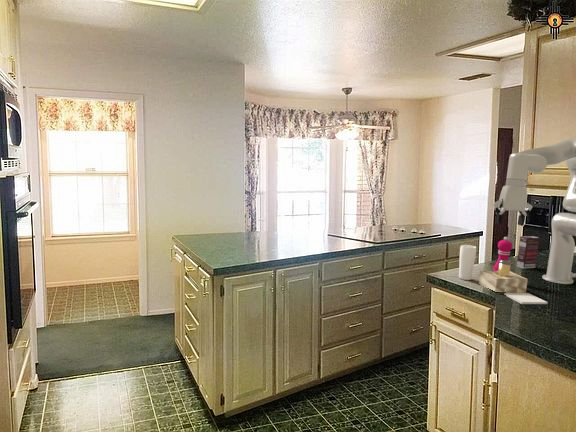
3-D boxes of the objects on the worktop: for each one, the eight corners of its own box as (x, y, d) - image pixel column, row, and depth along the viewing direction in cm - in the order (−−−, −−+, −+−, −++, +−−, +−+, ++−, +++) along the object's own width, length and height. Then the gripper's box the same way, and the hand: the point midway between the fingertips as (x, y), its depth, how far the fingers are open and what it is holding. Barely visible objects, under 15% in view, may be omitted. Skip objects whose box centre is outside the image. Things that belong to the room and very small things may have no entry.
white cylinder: (453, 277, 214) (457, 244, 212) (465, 276, 217) (468, 244, 214) (464, 281, 208) (468, 248, 206) (476, 280, 211) (480, 247, 208)
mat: (528, 295, 193) (528, 293, 193) (547, 304, 182) (547, 302, 182) (504, 294, 191) (504, 292, 191) (521, 304, 180) (521, 302, 180)
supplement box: (528, 265, 246) (532, 235, 244) (536, 268, 242) (540, 237, 239) (515, 266, 243) (519, 236, 241) (523, 268, 239) (527, 237, 236)
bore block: (508, 284, 207) (509, 271, 206) (525, 293, 195) (527, 279, 195) (478, 284, 205) (480, 270, 204) (494, 292, 193) (496, 278, 192)
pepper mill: (511, 283, 210) (516, 238, 207) (493, 281, 211) (499, 237, 208) (507, 278, 217) (512, 236, 214) (490, 277, 218) (495, 234, 215)
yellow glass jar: (503, 287, 203) (506, 259, 201) (509, 290, 198) (513, 262, 197) (493, 286, 202) (497, 259, 200) (500, 290, 198) (503, 262, 196)
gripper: (529, 184, 199) (523, 224, 202) (491, 181, 197) (485, 221, 199) (540, 185, 192) (534, 227, 194) (501, 182, 190) (495, 224, 192)
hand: (509, 224), depth 197 cm, fingers open, 9 cm apart
